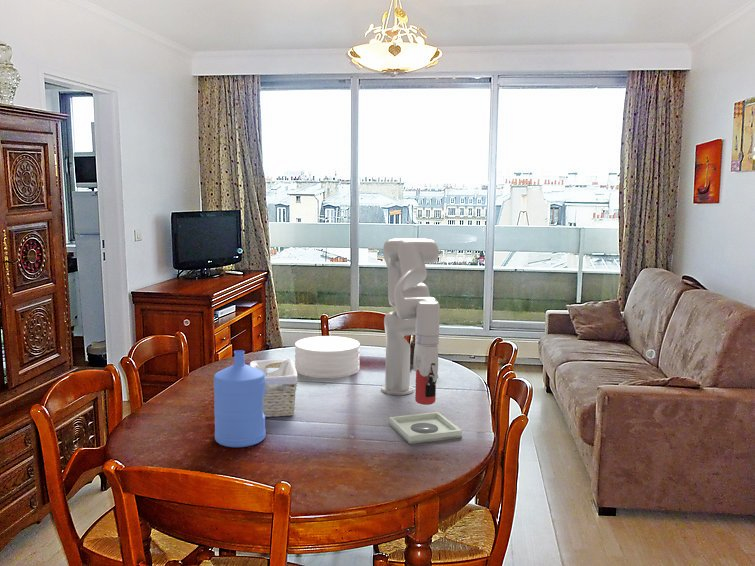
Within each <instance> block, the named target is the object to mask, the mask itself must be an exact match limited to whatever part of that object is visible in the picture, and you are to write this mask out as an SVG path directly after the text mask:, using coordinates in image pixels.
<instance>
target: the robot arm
mask: <svg viewBox="0 0 755 566" xmlns="http://www.w3.org/2000/svg"><path fill="white" fill-rule="evenodd" d="M382 250H383V253H382V254H383V258H384V261H385V264H386V268H387V273H388V274H387V277H388V278H387V280H388V281H387V282H388V283H387V299H388V303H389V305H390V306H391V307H393V308H395V310H392V311H389V312H387V313H386V314H385V315H384V318H383V325H384V332H385V371H384V372H385V373H384V374H385V377H384V381H385V384H383V385H381V387H380V391H381V392H383V393H384V394H386V395H393V396H405V395H410V394H412V393H413V392H414V387H413V386H412V385H411V384H410V379H411V377H410V376H411V368H410V342H409V341H408V340H407V339H406V338H405V336H413V335H416V336H415V349H414V361H413V368H412V369H413V371H414V372H416V371H417V369H418V370H419V372H420V375H422V376H423V377H426V381H427V385H426V392H425V396H426V397H434V396H435V385H436V386H437V383H438V382H437V381H438V379H439V374H438V373H439V347H438V345H439V343H440V318H441V317H440V313H441V305H440V303H439V301H438V300H437V299H436V298H435V297H434V296H430V289H429V287H428V285H427V284H425V283H424V281H425V280H426V278H427V276H428V271H427V267H426V264H435V263H436V262H437V261H438V259H439V254H440V253H439V246H438V244H437V243H436V241H435V240H433V239H429V238H392V239H391V238H390V239H387V240H386V241H385V242H384V244H383V247H382ZM439 346H440V345H439ZM418 367H419V368H418ZM429 373H432V375H429ZM429 377H432V378H431V379H430V381H429Z"/></svg>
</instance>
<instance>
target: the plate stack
mask: <svg viewBox="0 0 755 566" xmlns="http://www.w3.org/2000/svg"><path fill="white" fill-rule="evenodd" d="M360 347H361V343H360V342H359V340H357V339H354V338H351V337H345V336H335V335H319V336H317V335H316V336H310V337H305V338H301V339H298V340H297V341H295V343H294V353H295V354H294V358H295V360H294V365H295V368H296V371H297V374H300V375H302V376H306V377H310V378H315V379H316V378H317V379H335V378H344V377H349V376H353V375H355V374H357V373H358V372H359V371H360V368H361V367H360V364H361V363H360V358H361V356H360V353H361V351H360V350H361V348H360Z"/></svg>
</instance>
